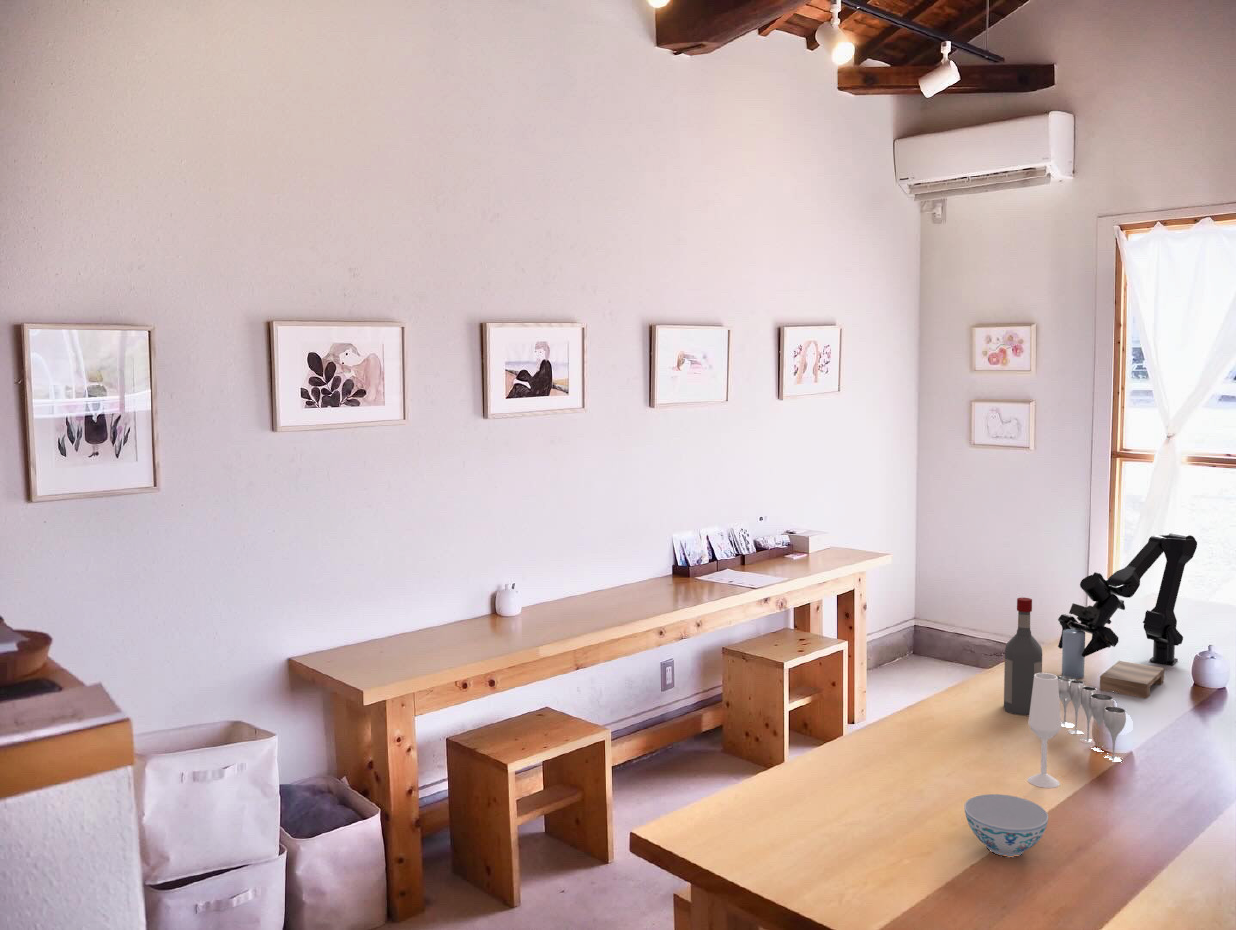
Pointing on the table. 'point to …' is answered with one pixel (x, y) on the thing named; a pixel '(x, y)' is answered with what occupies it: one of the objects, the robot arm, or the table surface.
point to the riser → (1131, 678)
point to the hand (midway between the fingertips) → (1070, 651)
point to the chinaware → (1006, 822)
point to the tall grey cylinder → (1073, 653)
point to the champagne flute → (1044, 721)
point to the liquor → (1021, 663)
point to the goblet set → (1091, 709)
